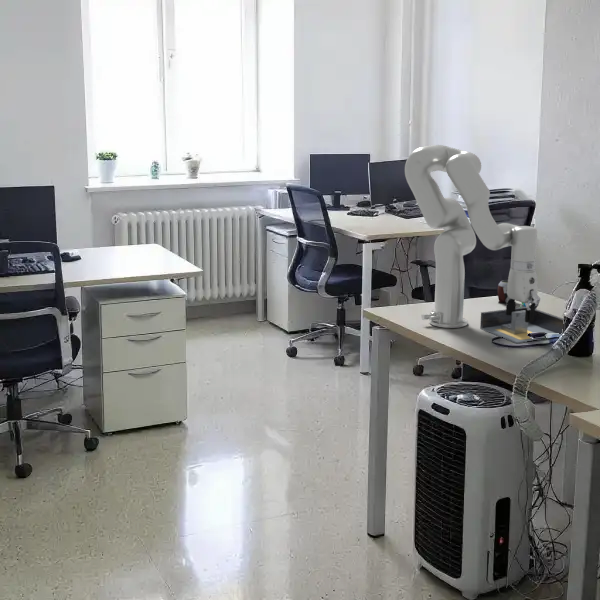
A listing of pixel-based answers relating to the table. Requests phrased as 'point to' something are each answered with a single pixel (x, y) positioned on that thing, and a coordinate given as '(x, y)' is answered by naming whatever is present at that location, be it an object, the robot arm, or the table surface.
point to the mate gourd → (502, 291)
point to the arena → (541, 324)
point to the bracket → (516, 323)
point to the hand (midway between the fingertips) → (519, 318)
